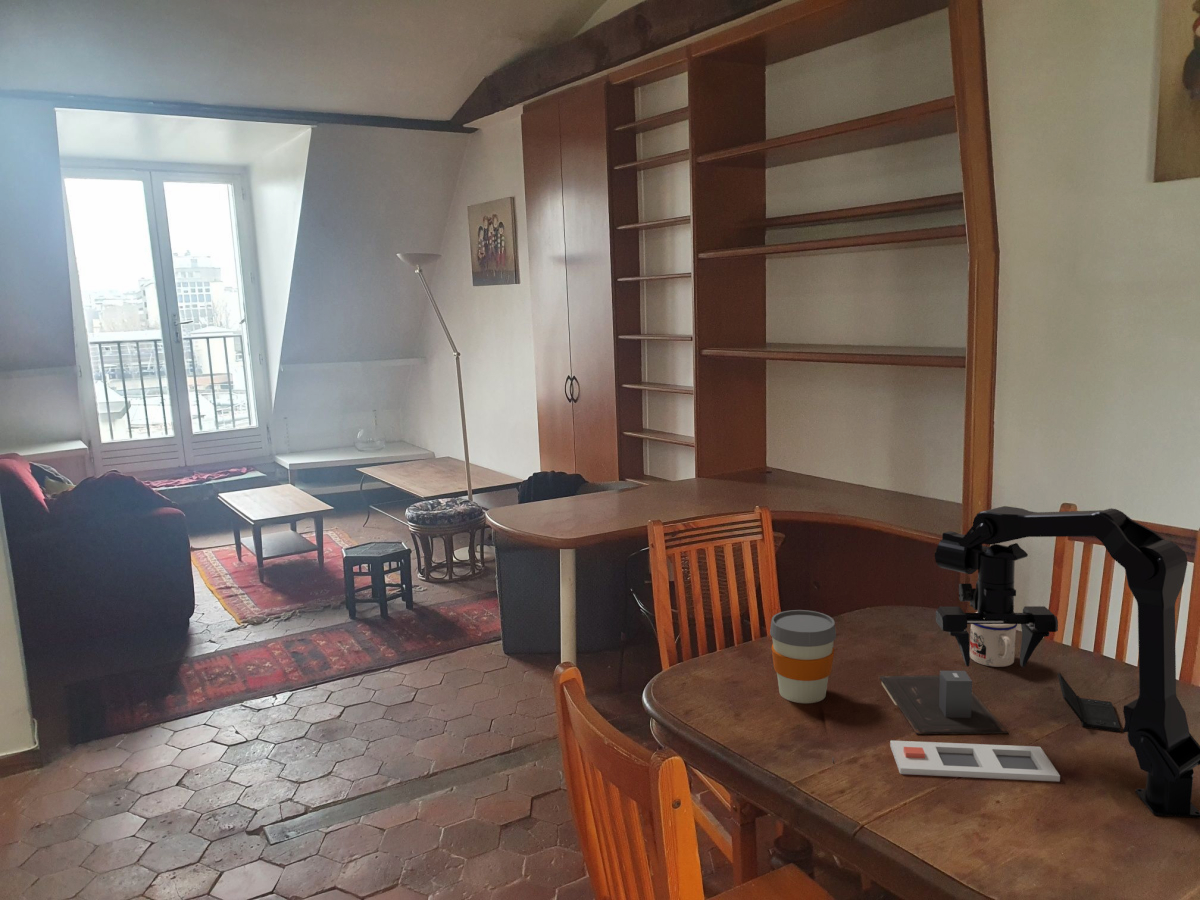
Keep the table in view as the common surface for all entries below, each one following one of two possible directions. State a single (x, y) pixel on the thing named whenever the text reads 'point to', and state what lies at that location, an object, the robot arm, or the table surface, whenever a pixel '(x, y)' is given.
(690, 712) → the table surface
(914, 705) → the hardcover book
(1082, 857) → the table surface
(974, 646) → the teacup with lid
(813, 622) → the reusable coffee cup
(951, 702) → the block
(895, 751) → the power strip
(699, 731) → the table surface
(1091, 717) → the handheld gaming console
